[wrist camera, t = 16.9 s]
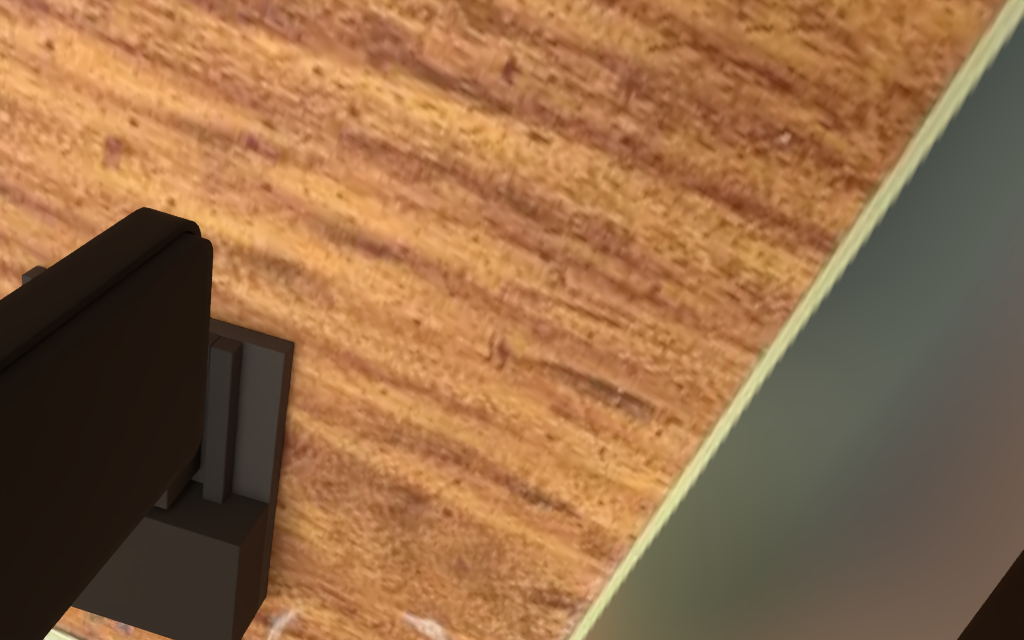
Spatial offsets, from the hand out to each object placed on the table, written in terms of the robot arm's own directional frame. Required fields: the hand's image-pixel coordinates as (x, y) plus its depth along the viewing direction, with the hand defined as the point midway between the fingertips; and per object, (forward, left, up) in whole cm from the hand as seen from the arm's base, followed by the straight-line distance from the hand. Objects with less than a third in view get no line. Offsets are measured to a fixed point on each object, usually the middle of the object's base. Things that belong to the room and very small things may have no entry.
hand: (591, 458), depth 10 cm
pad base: (+24, -18, -23) cm, 37 cm away
